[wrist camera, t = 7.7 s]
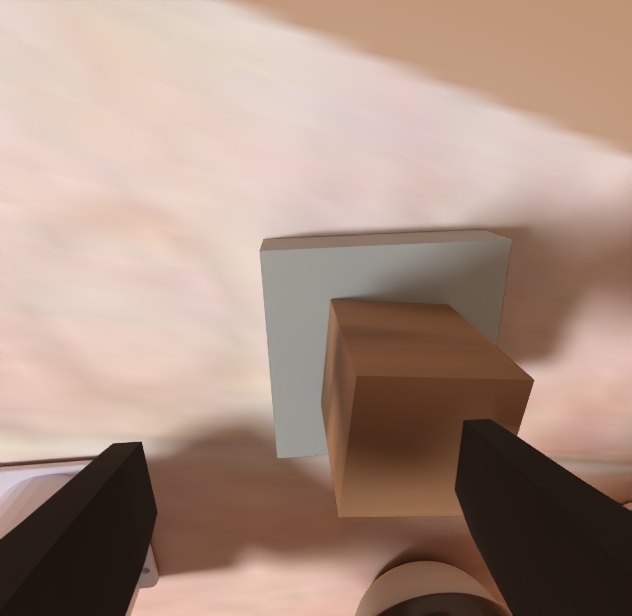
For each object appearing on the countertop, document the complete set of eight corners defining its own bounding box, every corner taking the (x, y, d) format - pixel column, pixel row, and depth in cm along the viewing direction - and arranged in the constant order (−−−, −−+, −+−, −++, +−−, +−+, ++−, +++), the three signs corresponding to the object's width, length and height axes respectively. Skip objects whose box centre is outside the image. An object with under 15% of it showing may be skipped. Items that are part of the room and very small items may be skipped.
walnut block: (427, 405, 18) (492, 515, 13) (320, 403, 18) (338, 517, 12) (448, 304, 16) (534, 379, 11) (330, 299, 16) (356, 375, 10)
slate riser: (457, 407, 22) (482, 443, 19) (278, 419, 21) (277, 458, 19) (478, 227, 18) (512, 239, 16) (264, 236, 18) (259, 251, 15)
